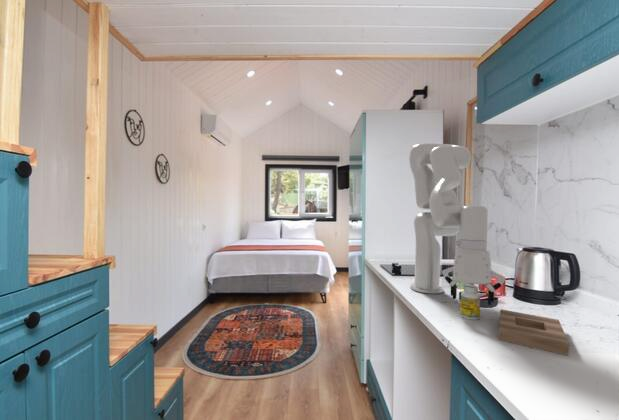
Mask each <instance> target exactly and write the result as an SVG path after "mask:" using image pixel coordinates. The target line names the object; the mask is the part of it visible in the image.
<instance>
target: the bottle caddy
mask: <svg viewBox="0 0 619 420" xmlns="http://www.w3.org/2000/svg"><path fill="white" fill-rule="evenodd" d="M498 322H499V323H498V340H499V341H502V342H506V341H507V342H508V343H511V342H512V344H515V343H516V345H520V346H524V345H525V346H524V347H528V348H533V347H534V349H537V348H538V350H543V351H547V352H552V353H556V354H560V355H565V356H569V353H570V352H569V351H570V350H569V348H570V342H569V340H568V337H567V336H566V335H567V334H566V332H565V331H564V328H563V327H562V324H561V322H560V320H559V319H556V318H551V317H545V316H540V315H534V314H528V313H525V312H519V311H512V310H507V309H500V313H499V321H498Z"/></svg>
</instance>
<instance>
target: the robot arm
mask: <svg viewBox="0 0 619 420" xmlns="http://www.w3.org/2000/svg"><path fill="white" fill-rule="evenodd" d="M408 158H409V166H410V167H409V168H410V169H411V173H412V175H413V178H414V190H415V191H414V192H415V202H416V205H417V207H418V208H419V209H420V210H426V211H427V210H428V211H429V212H428V211H427V212H420V213H418V214H416V215H415V217H414V220H413V226H414V234H415V258H414V259H415V260H414V282H413V283H411V284H410V286H409V288H410V289H411V290H413V291H415V292H418V293H424V294H432V295H434V294H435V295H436V294H437V295H438V294H442V293H443V292H444V288H443V287H442V286H441V285H440V278H441V277H440V276H441V275H440V273H442V275H443V277H444V280H445V281H446V282H447V283H448V284H449V286H450V296H451V297H452V300H456V299H457V287H458V286H457V283H459V282H460V283H465V284H471V285H473V284H474V285H481V286H486V288H488V293H487V305H488V306H491V305H492V303H494V301H495V291H497V290H498V289H499V288H501V287H502V285H503V284H504V282H505V281H506V277H505V276H503V275H501V274H499V272H498V273H497V272H496V271H494V270H492V258H491V254H490V251H489V250H488V247H487V246H488V209H487V207H486V206H483V205H459V202H458V197H457V193H456V191H454V189H456V188H457V187H458V186H460V185H461V183H462V182H463V177H462V174H461V170H463V169H467V168H468V167H469V166H470V165H471V163H472V154H471V152H470V150H469V148H467V147H466V146H463V145H457V144H452V143H451V144H449V143H430V142H424V143H417V144H415V145H413V146H412V148H411V149H410V152H409V157H408ZM428 165H431V167H430V166H428ZM431 168H432V169H431ZM458 233H459V239H457V240H454V242H453V245H455V246H458V248H456V250H455V254H454V261H453V266H451V267H448V268H445V269H443V270H441V249H442V248H441V244H440V242H439V241H438V239H437V238H436V237H454V236H456V235H457V234H458ZM451 272H452V273H453V275H452V276H453V279H452V278H451V277H450V276H449V273H451ZM492 277H494V278H495V279H497V280H498V281H497V282H496V283H494V284H493V283H492Z"/></svg>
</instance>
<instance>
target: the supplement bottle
mask: <svg viewBox="0 0 619 420" xmlns="http://www.w3.org/2000/svg"><path fill="white" fill-rule="evenodd" d="M462 289H463V291H462V292H460V309H459V310H460V312H459V313H460V317H462V318H464V319H466V320H473V321H477V320H479V319H480V315H481V314H480V313H481V295H480V294H479V293H478V291H479V290H478V289H479V288H478V286H477V285H473V284H464V285H463V286H462Z"/></svg>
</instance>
